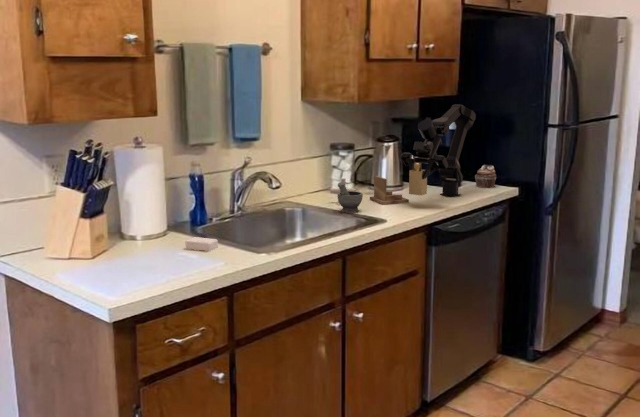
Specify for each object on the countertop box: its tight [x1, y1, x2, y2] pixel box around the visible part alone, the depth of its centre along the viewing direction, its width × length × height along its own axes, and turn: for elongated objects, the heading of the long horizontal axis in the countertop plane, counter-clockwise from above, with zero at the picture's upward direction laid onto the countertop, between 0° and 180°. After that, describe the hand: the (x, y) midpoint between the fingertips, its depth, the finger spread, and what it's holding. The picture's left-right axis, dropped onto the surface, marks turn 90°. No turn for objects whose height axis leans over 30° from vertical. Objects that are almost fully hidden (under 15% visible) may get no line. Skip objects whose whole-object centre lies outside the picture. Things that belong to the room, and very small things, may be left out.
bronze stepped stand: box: [369, 175, 410, 206], centre depth 276 cm, size 12×12×10 cm
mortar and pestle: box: [337, 181, 364, 214], centre depth 258 cm, size 11×9×12 cm
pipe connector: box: [330, 177, 357, 194], centre depth 274 cm, size 10×10×10 cm
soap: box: [185, 236, 219, 252], centre depth 209 cm, size 9×6×3 cm, turn 67°
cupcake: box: [474, 164, 497, 189], centre depth 307 cm, size 10×10×10 cm
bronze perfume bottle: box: [408, 162, 428, 196], centre depth 263 cm, size 4×6×12 cm
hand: (416, 177), depth 261 cm, fingers closed on bronze perfume bottle, 5 cm apart
